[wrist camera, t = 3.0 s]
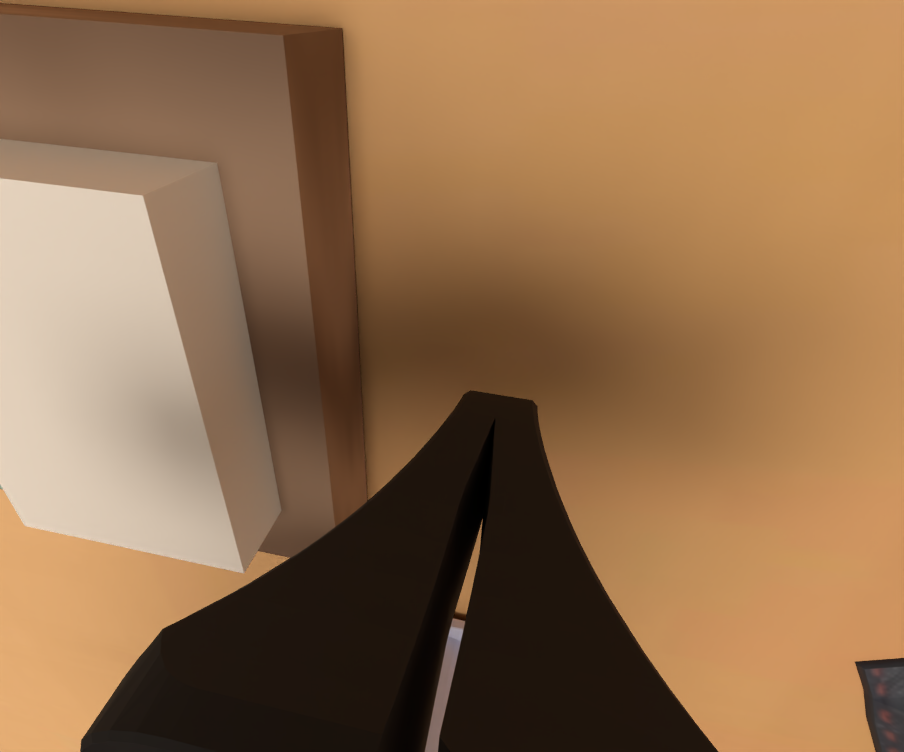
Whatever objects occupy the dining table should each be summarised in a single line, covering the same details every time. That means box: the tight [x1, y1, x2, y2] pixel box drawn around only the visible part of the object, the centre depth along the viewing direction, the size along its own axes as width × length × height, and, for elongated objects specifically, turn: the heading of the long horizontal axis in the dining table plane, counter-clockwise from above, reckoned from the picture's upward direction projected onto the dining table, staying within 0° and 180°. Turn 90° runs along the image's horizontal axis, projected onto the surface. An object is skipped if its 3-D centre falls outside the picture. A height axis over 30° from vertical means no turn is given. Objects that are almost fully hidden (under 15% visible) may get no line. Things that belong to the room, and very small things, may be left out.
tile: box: [0, 139, 281, 573], centre depth 12 cm, size 9×6×2 cm, turn 177°
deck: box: [0, 3, 367, 558], centre depth 14 cm, size 13×10×2 cm
